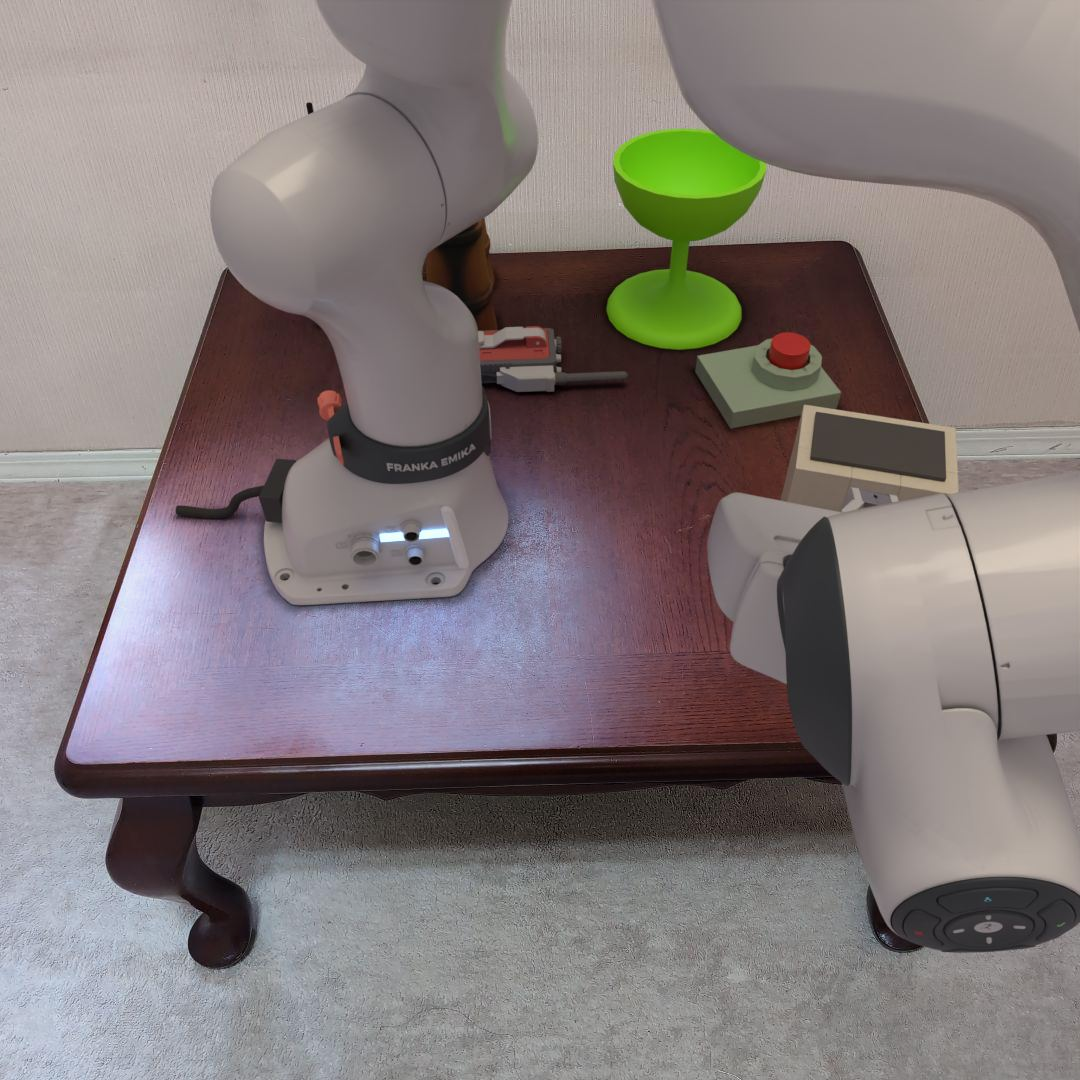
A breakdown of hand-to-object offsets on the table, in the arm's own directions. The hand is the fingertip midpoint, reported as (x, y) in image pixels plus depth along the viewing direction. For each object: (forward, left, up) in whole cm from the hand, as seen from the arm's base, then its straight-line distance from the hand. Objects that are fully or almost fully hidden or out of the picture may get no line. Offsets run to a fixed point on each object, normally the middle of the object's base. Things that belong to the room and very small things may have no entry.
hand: (868, 500), depth 60 cm
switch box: (+13, +37, -22) cm, 44 cm away
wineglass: (+9, +54, -22) cm, 59 cm away
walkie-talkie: (-10, +47, -22) cm, 52 cm away
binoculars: (-15, +62, -22) cm, 67 cm away
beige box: (+9, +12, -22) cm, 26 cm away
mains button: (+15, +37, -18) cm, 43 cm away
